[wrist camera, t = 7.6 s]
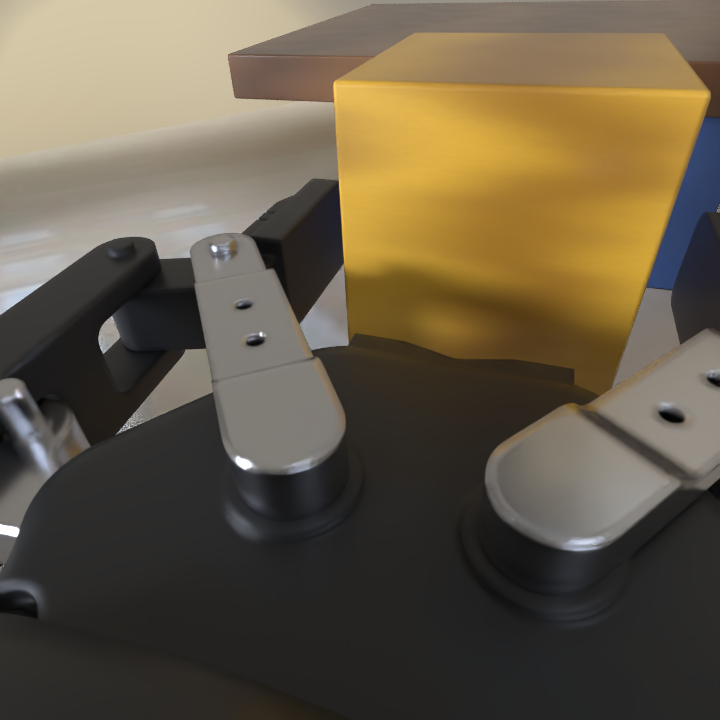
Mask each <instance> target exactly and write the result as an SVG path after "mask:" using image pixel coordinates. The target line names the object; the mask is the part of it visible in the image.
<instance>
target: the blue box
mask: <svg viewBox="0 0 720 720" xmlns="http://www.w3.org/2000/svg"><path fill="white" fill-rule="evenodd" d="M719 204H720V118H717V117H704V120H703V123H702V126H701V129H700V132H699V134H698V137H697V140H696V143H695V146H694V149H693V152H692V155H691V158H690V161H689V164H688V167H687V169H686V172H685V175H684V178H683V181H682V184H681V187H680V190H679V193H678V196H677V199H676V202H675V204H674V207H673V210H672V213H671V216H670V219H669V222H668V225H667V228H666V231H665V234H664V237H663V239H662V242H661V245H660V248H659V251H658V254H657V257H656V260H655V263H654V266H653V269H652V271H651V274H650V277H649V280H648V283H647V286H646V287H653V288H662V289H670V290H673V287H674V283H675V280H676V277H677V274H678V272H679V269H680V266H681V264H682V261H683V258H684V256H685V253H686V251H687V248H688V245H689V243H690V240H691V237H692V235H693V232H694V229H695V227H696V224H697V222H698V220H699V218H700V217H701V215H702V214H703V213H704V212H715V213H716V212H717V209H718V207H719Z"/></svg>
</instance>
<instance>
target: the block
mask: <svg viewBox="0 0 720 720" xmlns="http://www.w3.org/2000/svg"><path fill="white" fill-rule="evenodd" d="M333 92H334V109H335V125H336V141H337V158H338V174H339V190H340V207H341V223H342V239H343V256H344V272H345V288H346V305H347V321H348V337H349V343H350V341H351V340H352V338H353V336H354V334H355V333H358V334H364V335H370V336H376V337H382V338H388V339H395V340H401V341H406V342H409V343H412V344H414V345H417V346H420V347H423V348H426V349H429V350H432V351H435V352H438V353H440V354H443V355H446V356H449V357H452V358H457V359H517V360H523V361H529V362H535V363H541V364H547V365H553V366H559V367H565V368H572V369H575V371H574V385H577V386H579V387H582V388H584V389H587V390H589V391H591V392H594V393H596V394H598V395H599V396H601V395H603V394H604V393H606V392H607V391H609V390H610V389H611V388H612V385H613V382H614V379H615V376H616V374H617V371H618V368H619V365H620V362H621V359H622V356H623V353H624V350H625V347H626V344H627V341H628V339H629V336H630V333H631V330H632V327H633V324H634V321H635V318H636V315H637V312H638V309H639V306H640V304H641V301H642V298H643V295H644V292H645V289H646V286H647V283H648V280H649V277H650V274H651V271H652V269H653V266H654V263H655V260H656V257H657V254H658V251H659V248H660V245H661V242H662V239H663V237H664V234H665V231H666V228H667V225H668V222H669V219H670V216H671V213H672V210H673V207H674V204H675V202H676V199H677V196H678V193H679V190H680V187H681V184H682V181H683V178H684V175H685V172H686V169H687V167H688V164H689V161H690V158H691V155H692V152H693V149H694V146H695V143H696V140H697V137H698V134H699V132H700V129H701V126H702V123H703V120H704V117H705V114H706V111H707V108H708V105H709V102H710V99H711V92H710V90H709V89H708V88H707V87H706V85H705V84H704V83H703V81H702V80H701V79H700V78H699V76H698V75H697V74H696V72H695V71H694V70H693V69H692V67H691V66H690V65H689V64H688V62H687V61H686V60H685V58H684V57H683V56H682V55H681V53H680V52H679V51H678V49H677V48H676V47H675V46H674V44H673V43H672V42H671V40H670V39H669V38H668V37H667V35H665V34H663V33H414V34H412V35H410V36H409V37H407V38H405V39H404V40H402V41H400V42H399V43H397V44H395V45H394V46H392V47H390V48H389V49H387V50H385V51H384V52H382V53H380V54H379V55H377V56H375V57H374V58H372V59H370V60H369V61H367V62H365V63H364V64H362V65H360V66H359V67H357V68H355V69H354V70H352V71H350V72H349V73H347V74H345V75H344V76H342V77H340V78H339V79H337V80H335V81H334V85H333Z"/></svg>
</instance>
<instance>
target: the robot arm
mask: <svg viewBox="0 0 720 720" xmlns="http://www.w3.org/2000/svg"><path fill="white" fill-rule="evenodd" d="M190 255H191V258H177V259H159V256H158V253H157V249H156V246H155V243H154V242H153V241H152V240H150V239H147V238H143V237H126V238H118V239H114V240H112V241H108V242H106V243H103V244H101V245H99V246H97V247H96V248H94V249H93V250H91V251H90V252H89V253H87V254H86V255H84V256H83V257H82V258H80V259H79V260H77V261H76V262H75V263H73V264H72V265H70V266H69V267H68V268H66V269H65V270H63V271H62V272H60V273H59V274H58V275H56V276H55V277H53V278H52V279H51V280H49V281H48V282H46V283H45V284H44V285H42V286H41V287H39V288H38V289H37V290H35V291H34V292H32V293H31V294H29V295H28V296H27V297H25V298H24V299H22V300H21V301H20V302H18V303H17V304H15V305H14V306H13V307H11V308H10V309H8V310H7V311H6V312H4V313H3V314H1V315H0V567H1V566H2V565H4V567H3V569H2V570H1V572H0V720H720V213H715V212H704V213H703V214H702V215H701V217H700V218H699V220H698V222H697V224H696V227H695V229H694V232H693V235H692V237H691V240H690V243H689V245H688V248H687V251H686V253H685V256H684V258H683V261H682V264H681V266H680V269H679V272H678V274H677V277H676V280H675V283H674V287H673V291H672V298H671V306H672V311H673V315H674V320H675V324H676V329H677V333H678V337H679V342H680V345H679V346H678V347H676V348H675V349H673V350H672V351H670V352H668V353H667V354H665V355H664V356H662V357H661V358H659V359H657V360H656V361H654V362H653V363H651V364H650V365H648V366H646V367H645V368H643V369H642V370H640V371H639V372H637V373H635V374H634V375H632V376H631V377H629V378H628V379H626V380H625V381H623V382H621V383H620V384H618V385H617V386H615V387H614V388H612V389H610V390H609V391H607V392H606V393H604V394H603V395H601V396H599V395H598V394H596V393H594V392H591V391H589V390H587V389H584V388H582V387H579V386H577V385H574V371H575V369H572V368H565V367H559V366H553V365H547V364H541V363H535V362H529V361H523V360H517V359H457V358H452V357H449V356H446V355H443V354H440V353H438V352H435V351H432V350H429V349H426V348H423V347H420V346H417V345H414V344H412V343H409V342H406V341H401V340H395V339H388V338H382V337H376V336H370V335H364V334H358V333H355V334H354V336H353V338H352V340H351V341H350V343H349V345H348V346H336V347H327V348H321V349H316V350H312V351H311V350H310V348H309V346H308V343H307V341H306V339H305V337H304V335H303V332H302V330H301V328H300V326H299V324H300V323H301V321H302V320H303V319H304V317H305V316H306V315H307V313H308V312H309V310H310V309H311V308H312V306H313V305H314V304H315V302H316V301H317V299H318V298H319V297H320V295H321V294H322V293H323V291H324V290H325V288H326V287H327V286H328V284H329V283H330V282H331V280H332V279H333V277H334V276H335V275H336V273H337V272H338V271H339V269H340V268H341V266H342V265H343V264H344V256H343V239H342V223H341V207H340V190H339V181H338V180H326V179H312V180H310V181H309V182H308V183H307V184H306V185H305V186H304V187H303V188H302V189H301V190H299V191H298V192H297V193H296V194H295V195H294V196H291V197H288V198H286V199H284V200H281V201H279V202H277V203H276V204H274V205H273V206H272V207H271V208H270V209H269V210H268V211H267V213H264V214H263V215H262V216H261V217H260V218H259V220H256V221H255V222H254V223H253V224H252V225H251V226H249V227H248V228H247V229H246V230H245V231H244V232H243V233H242V234H238V233H224V234H218V235H213V236H209V237H207V238H204V239H202V240H200V241H198V242H197V243H195V244H194V245H193V246H192V247H191V249H190ZM111 316H113V319H114V321H115V324H116V326H117V329H118V332H119V334H120V337H121V338H120V339H119V340H118V341H117V342H116V343H115V344H114V345H113V346H112V347H111V348H110V349H108V350H107V351H106V352H105V353H104V354H102V351H101V349H100V346H99V342H98V336H99V331H100V328H101V326H102V325H103V323H104V322H105V321H106V320H107V319H109V318H110V317H111ZM185 349H207V354H208V359H209V365H210V370H211V375H212V388H213V392H212V393H210V394H208V395H206V396H203V397H201V398H199V399H197V400H194V401H192V402H190V403H187V404H185V405H183V406H181V407H178V408H176V409H174V410H172V411H169V412H167V413H165V414H163V415H160V416H158V417H156V418H153V419H151V420H149V421H147V422H144V423H142V424H140V425H138V426H135V427H133V428H131V429H129V430H126V431H124V432H122V433H119V434H117V432H118V431H119V430H120V429H121V428H122V426H123V425H124V424H125V423H126V422H127V421H128V419H129V418H130V417H131V416H132V415H133V413H134V412H135V411H136V410H137V409H138V408H139V406H140V405H141V404H142V403H143V402H144V400H145V399H146V398H147V397H148V396H149V395H150V393H151V392H152V391H153V390H154V389H155V387H156V386H157V385H158V384H159V383H160V382H161V380H162V379H163V378H164V377H165V376H166V374H167V373H168V372H169V371H170V370H171V369H172V367H173V366H174V365H175V364H176V363H177V361H178V360H179V359H180V358H181V357H182V355H183V354H184V352H185ZM116 434H117V435H116Z"/></svg>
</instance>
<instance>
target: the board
mask: <svg viewBox="0 0 720 720" xmlns="http://www.w3.org/2000/svg"><path fill="white" fill-rule="evenodd" d="M414 33H663V34H665V35H667V37H668V38H669V39H670V40H671V42H672V43H673V44H674V46H675V47H676V48H677V49H678V51H679V52H680V53H681V55H682V56H683V57H684V58H685V60H686V61H687V62H688V64H689V65H690V66H691V67H692V69H693V70H694V71H695V72H696V74H697V75H698V76H699V78H700V79H701V80H702V81H703V83H704V84H705V85H706V87H707V88H708V89H709V90H710V92H711V99H710V102H709V105H708V108H707V111H706V114H705V117H717V118H720V0H671V1H670V0H668V1H667V0H665V1H664V0H662V1H587V2H584V1H582V2H503V3H428V4H426V3H425V4H424V3H423V4H372V5H369V6H366V7H363V8H360V9H358V10H354V11H351V12H349V13H346V14H343V15H340V16H337V17H334V18H331V19H328V20H326V21H323V22H320V23H317V24H314V25H311V26H308V27H305V28H302V29H300V30H297V31H294V32H291V33H288V34H285V35H282V36H280V37H277V38H274V39H271V40H268V41H265V42H262V43H259V44H256V45H253V46H251V47H248V48H245V49H242V50H239V51H236V52H233V53H231V54H228V60H229V66H230V72H231V78H232V84H233V89H234V96H235V98H242V99H243V98H244V99H266V100H291V101H316V102H334V92H333V85H334V81H335V80H337V79H339V78H340V77H342V76H344V75H345V74H347V73H349V72H350V71H352V70H354V69H355V68H357V67H359V66H360V65H362V64H364V63H365V62H367V61H369V60H370V59H372V58H374V57H375V56H377V55H379V54H380V53H382V52H384V51H385V50H387V49H389V48H390V47H392V46H394V45H395V44H397V43H399V42H400V41H402V40H404V39H405V38H407V37H409V36H410V35H412V34H414Z"/></svg>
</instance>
